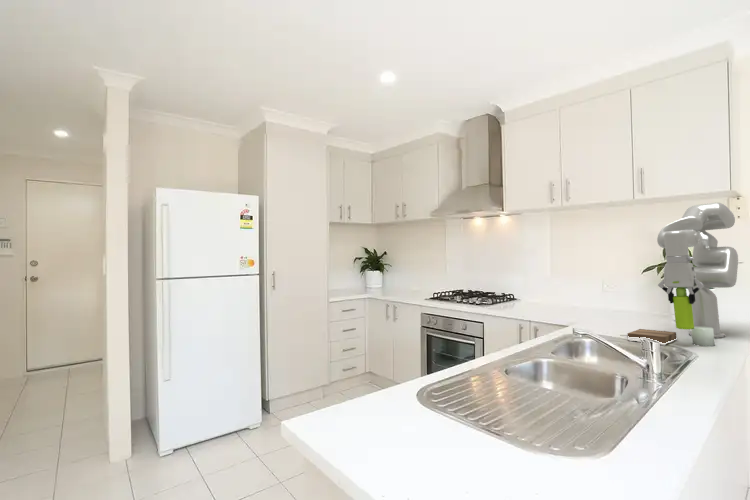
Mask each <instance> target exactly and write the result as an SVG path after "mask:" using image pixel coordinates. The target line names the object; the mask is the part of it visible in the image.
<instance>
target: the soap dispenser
mask: <svg viewBox="0 0 750 500" xmlns="http://www.w3.org/2000/svg"><path fill="white" fill-rule="evenodd" d="M672 283H679V281H674V282H672ZM675 294H676V295H674V297H673V303H672V304H673V310H674V318H675V319H674V321H675V327H676V329H678V330H691V329H694V321H693V312H692V304H690V303H689V295H688V293H687V288H683V287H675Z"/></svg>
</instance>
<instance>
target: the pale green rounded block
mask: <svg viewBox="0 0 750 500" xmlns="http://www.w3.org/2000/svg"><path fill="white" fill-rule="evenodd" d="M690 331H692V335H691V341H692V345H694V344H695V345H694V346H697V345H699V346H698V347H715V345H716V344H715V338H714V331H713V328H711V327H702V326H694V329H690Z"/></svg>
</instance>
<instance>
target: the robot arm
mask: <svg viewBox="0 0 750 500" xmlns="http://www.w3.org/2000/svg"><path fill="white" fill-rule="evenodd" d="M735 223H736V217H735V215H734V212H732V211H731V210H730V208H729V207H728V206H726V204H724V203H721V202H711V203H704V204H703V203H702V204H696V205H692V206H689V207H688V208H687V209H686V211H685V212H684V213H683V215H682V217H681V218H680V219H677V220H675V221H672V222H671V223H668V224H666V225H664V226H663V227H662V228H661V229H660V231H659V233H658V234H657V238H656V240H657V241H656V242H657V245H658V246H659V247H660V248H662V249H665V258H666V259H665V261H666V263H665V264H664V270H663V279H662V280H661V281H660V282H659V283H658V284H657V287H659V288H660V289H662V290H663V291H664V292H665V293H666V294H667V299H668V302H669V303H670V304H674V303H673V297H674V296H675V294H674V292H673V291H674V288H678V287H683V288H686V290H688V296H689V303H690V304H692V312H693V321H694V326H702V327H711V328H713V331H714V339H716V338H718V339H720V338H725V337H726V333H724V332H722V331H721V327H720V319H719V317H720V316H719V308H718V307H719V306H718V298H717V295H716V294H715V293H714V292H713V291H712V290H711V288H716V289H717V288H719V289H720V288H726V289H727V288H728V289H729V288H732V287H734V286H735V285H736V283H737V279H738V267H739V266H738V265H739V255H738V251H737V250H736V249H735V248H734V247H732V246H718V243H719V241H718V239H717V238H716V237H715V236H714V235H713V234H712V233H709V232H707V231H713V230H724V229H731V228H732V227H734V225H735ZM689 248H693V250H692V256H690V253H689ZM674 281H679V283H672V282H674ZM689 334H690V335H689ZM688 335H689V336H692V331H691V330H689V331H688Z"/></svg>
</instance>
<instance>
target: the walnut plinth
mask: <svg viewBox="0 0 750 500" xmlns="http://www.w3.org/2000/svg"><path fill="white" fill-rule="evenodd" d="M628 336H629V337H639V338H640V337H646V338H650V339H653V340H657V341H659V342H662V343H666V342H668V341H671V340H674V339H676V338H677V332H676V331H665V330H658V329H655V330H654V329H644V328H643V329H642V328H639V329H636V330H633V331H630V332H628V333H627V337H628ZM677 339H678V338H677Z"/></svg>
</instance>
